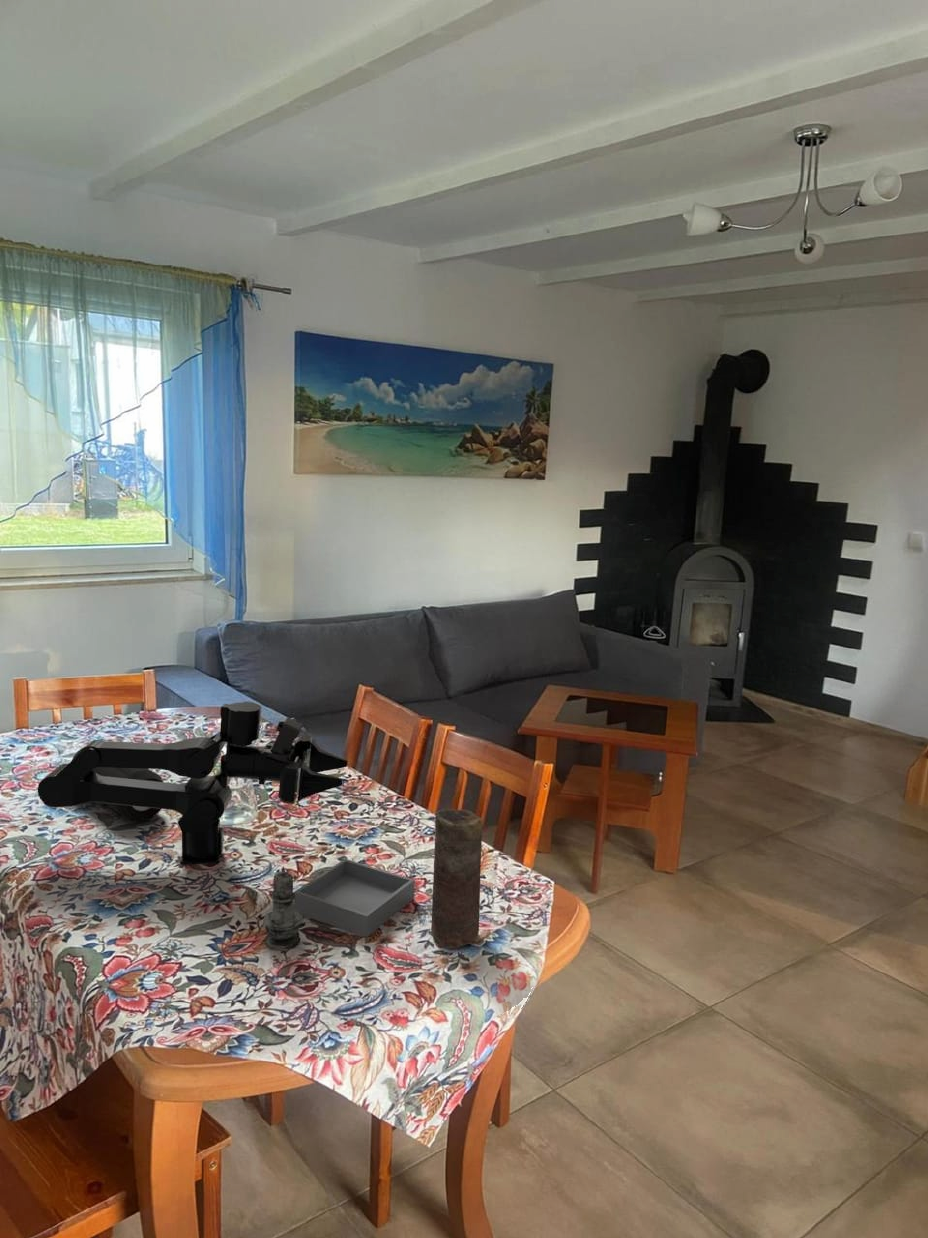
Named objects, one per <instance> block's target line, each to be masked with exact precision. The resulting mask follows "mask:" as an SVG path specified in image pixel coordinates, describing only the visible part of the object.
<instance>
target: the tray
mask: <svg viewBox="0 0 928 1238" xmlns="http://www.w3.org/2000/svg"><path fill="white" fill-rule="evenodd" d="M415 880H416V879H414V878H411V877H407V876H404V875H400V874H397V873H394V872H391V871H387V870H383V869H381V868H376V867H373V866H372V865H371V866H370V865H367V864H364V863H361V862H357V861H354V860H350V859H348V858H347V859H346V858H344V859H343V860H341V861H340V862H338V863H336V864H335V865H333V866H332V867H330V868H329V869H327V870H325V871H324V872H322V873H321V874H319V875H318V876H316V877H315V878H313V879H311V880H310V881H308V882H307V883H306V884H304V885H302V886H300V887H299V888H298V889H296V890H294V891H293V892H294V893H295V898H294V899H293V909H294V911H296V912H299V913H300V914H301V915H302V917H306V918H309V919H312V920H315V921H317V922H320V923H323V924H326V925H330V926H332V927H335V928H338V929H342V930H343V931H347V932H350V933H353V934H356V935H358V936H361V937H365V938H368V937H369V936H370V935H371V934H373V933H374V932H375V931H377V929H379V928H380V927H382V926H383V925H384V924H385V923H387V922H388V921H389V920H390V919H391V918H393V917H394V916H395V915H397V914H398V913H399V912H400V911H401V910H402V909H404V908H405V907H407V906H408V905H409V904H410V903H411V902H413V900H415V885H416V884H415V883H416V881H415Z"/></svg>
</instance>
